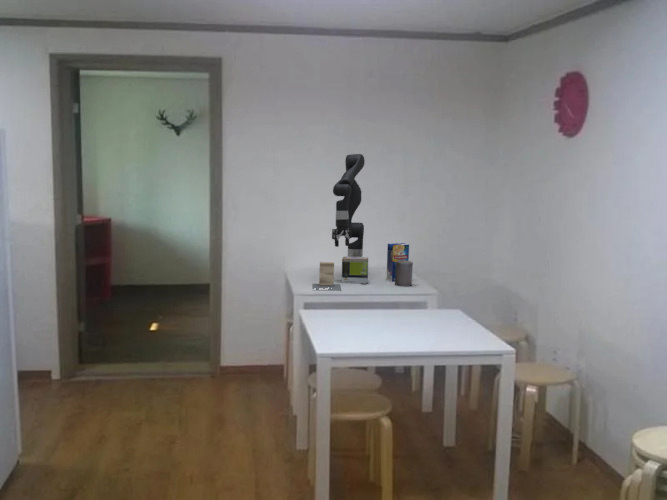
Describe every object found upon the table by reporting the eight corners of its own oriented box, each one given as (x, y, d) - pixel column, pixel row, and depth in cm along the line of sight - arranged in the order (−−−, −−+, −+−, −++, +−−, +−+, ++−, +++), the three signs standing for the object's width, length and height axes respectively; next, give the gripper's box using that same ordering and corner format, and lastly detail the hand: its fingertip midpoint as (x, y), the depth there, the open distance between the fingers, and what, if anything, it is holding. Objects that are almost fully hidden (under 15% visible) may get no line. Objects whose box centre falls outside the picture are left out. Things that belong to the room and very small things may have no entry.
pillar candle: (392, 283, 423) (393, 258, 420) (407, 282, 426) (408, 257, 424) (399, 286, 414) (400, 261, 411) (414, 286, 417) (415, 260, 415)
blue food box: (407, 280, 434) (409, 244, 431) (392, 281, 429) (393, 245, 426) (401, 278, 440) (403, 243, 437) (386, 279, 435) (387, 243, 432)
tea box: (368, 281, 429) (368, 256, 427) (367, 284, 419) (367, 259, 417) (342, 280, 430) (343, 255, 428) (341, 283, 420) (341, 258, 418)
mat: (312, 284, 415) (312, 283, 415) (340, 284, 415) (340, 284, 415) (312, 290, 395) (312, 290, 395) (341, 291, 396) (341, 290, 396)
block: (319, 284, 414) (319, 261, 412) (333, 284, 414) (333, 262, 412) (319, 285, 409) (319, 263, 407) (333, 286, 409) (334, 263, 407)
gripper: (345, 217, 429) (345, 245, 431) (328, 218, 419) (328, 246, 421) (355, 218, 424) (355, 245, 425) (338, 219, 414) (337, 247, 415)
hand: (341, 246), depth 423 cm, fingers open, 8 cm apart
